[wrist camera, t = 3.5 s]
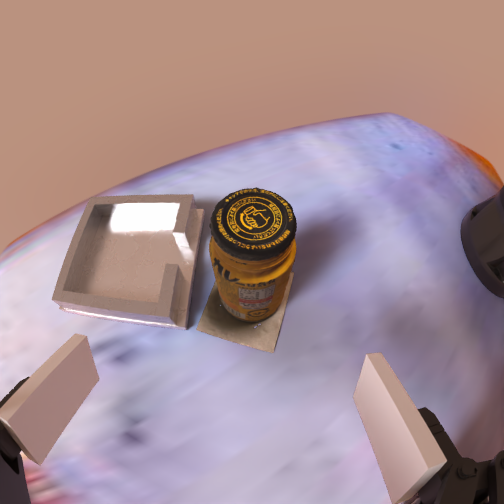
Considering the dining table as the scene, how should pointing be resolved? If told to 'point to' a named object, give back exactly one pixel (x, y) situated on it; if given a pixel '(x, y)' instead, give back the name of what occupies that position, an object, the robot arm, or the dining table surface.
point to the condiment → (250, 268)
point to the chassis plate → (133, 260)
